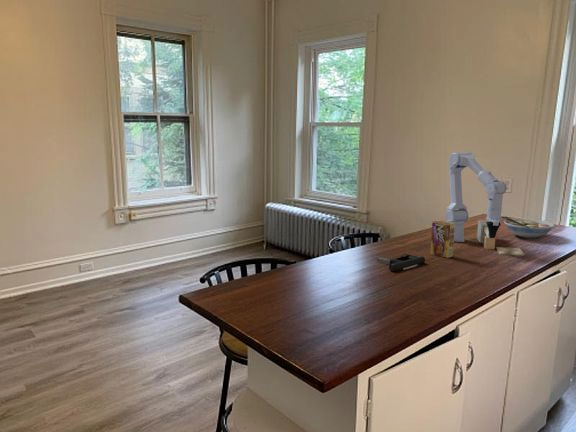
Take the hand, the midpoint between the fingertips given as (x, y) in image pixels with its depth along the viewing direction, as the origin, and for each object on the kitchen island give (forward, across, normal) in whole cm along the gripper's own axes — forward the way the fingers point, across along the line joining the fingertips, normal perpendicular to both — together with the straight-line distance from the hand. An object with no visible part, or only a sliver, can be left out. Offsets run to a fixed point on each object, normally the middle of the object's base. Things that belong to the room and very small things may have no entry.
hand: (492, 237), depth 197 cm
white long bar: (0, +10, 0) cm, 10 cm away
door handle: (+7, -30, +40) cm, 50 cm away
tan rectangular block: (+6, +6, 0) cm, 9 cm away
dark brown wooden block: (+6, +21, 0) cm, 22 cm away
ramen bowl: (+7, +34, -22) cm, 41 cm away
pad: (+6, +1, -8) cm, 10 cm away
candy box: (+7, -12, +22) cm, 26 cm away
